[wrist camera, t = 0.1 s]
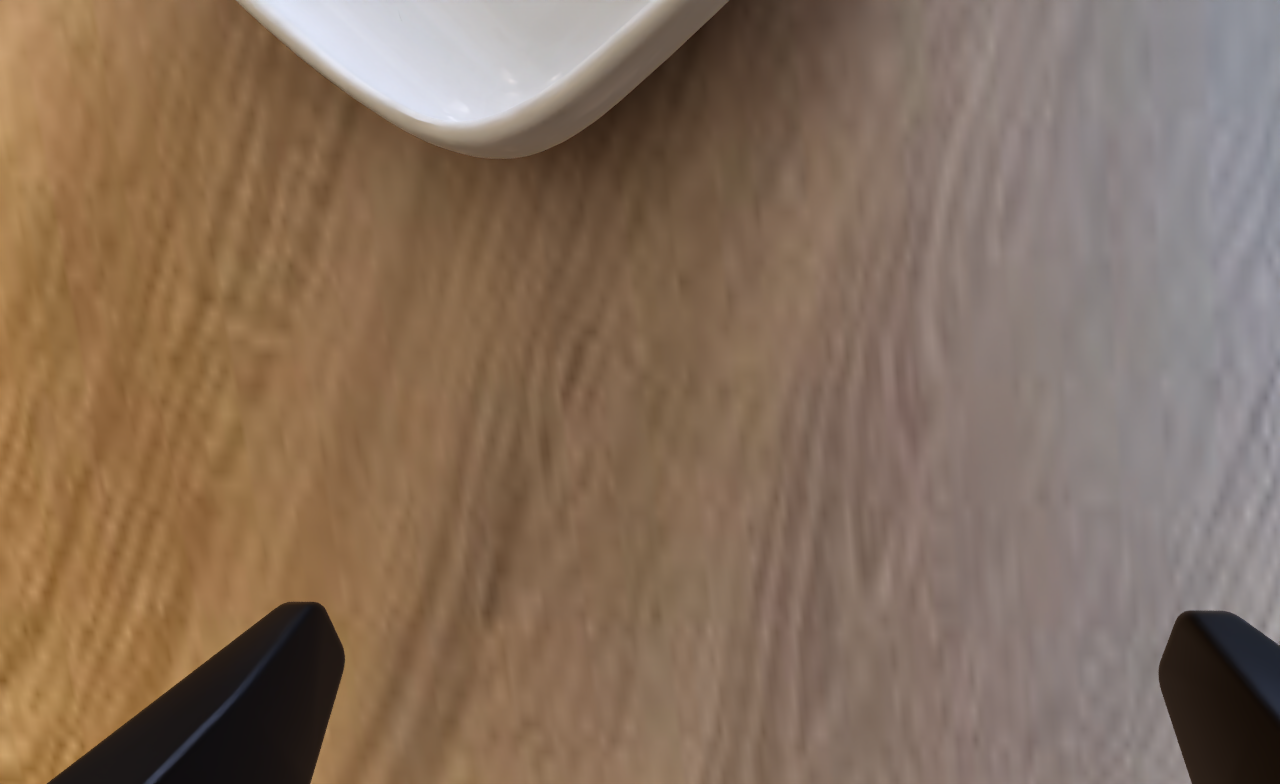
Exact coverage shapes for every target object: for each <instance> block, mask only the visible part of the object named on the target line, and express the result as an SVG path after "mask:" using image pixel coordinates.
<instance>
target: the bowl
mask: <svg viewBox="0 0 1280 784" xmlns="http://www.w3.org/2000/svg"><path fill="white" fill-rule="evenodd" d="M236 1H237V2H238V3H239V4H240V5H241V6H242V7H243V8H244V9H245V10H246V11H248V12H249V13H250V14H251V15H252V16H253V17H254V18H255V19H256V20H257V21H258V22H259V23H260V24H262V25H263V26H264V27H265V28H266V29H267V30H269V31H270V32H271V33H272V34H273V35H274V36H275V37H277V38H278V39H279V40H280V41H281V42H282V43H284V44H285V45H286V46H287V47H288V48H289V49H290V50H292V51H293V52H294V53H295V54H296V55H297V56H299V57H300V58H301V59H302V60H304V61H305V62H306V63H308V64H309V65H310V66H311V67H313V68H314V69H315V70H316V71H318V72H319V73H320V74H321V75H323V76H324V77H325V78H327V79H328V80H329V81H331V82H332V83H333V84H335V85H336V86H338V87H339V88H340V89H342V90H343V91H344V92H346V93H347V94H348V95H350V96H351V97H352V98H354V99H355V100H357V101H358V102H360V103H361V104H363V105H364V106H366V107H367V108H369V109H370V110H372V111H373V112H375V113H377V114H378V115H380V116H381V117H383V118H384V119H386V120H387V121H389V122H390V123H392V124H394V125H396V126H397V127H399V128H401V129H402V130H404V131H406V132H408V133H409V134H411V135H413V136H415V137H418V138H420V139H422V140H424V141H426V142H428V143H431V144H433V145H436V146H439V147H441V148H444V149H447V150H450V151H454V152H457V153H461V154H465V155H469V156H474V157H478V158H490V159H513V158H519V157H525V156H530V155H533V154H536V153H539V152H542V151H545V150H547V149H549V148H551V147H553V146H556V145H558V144H560V143H562V142H564V141H566V140H568V139H569V138H571V137H573V136H574V135H576V134H577V133H579V132H580V131H582V130H583V129H585V128H586V127H588V126H589V125H591V124H592V123H593V122H595V121H596V120H598V119H599V118H600V117H601V116H603V115H604V114H605V113H606V112H607V111H609V110H610V109H611V108H612V107H614V106H615V105H616V104H617V103H618V102H620V101H621V100H622V99H623V98H624V97H625V96H626V95H628V94H629V93H630V92H631V91H632V90H633V89H634V88H635V87H636V86H638V85H639V84H640V83H641V82H642V81H643V80H644V79H645V78H647V77H648V76H649V75H650V74H651V73H652V72H653V71H654V70H655V69H657V68H658V67H659V66H660V65H661V64H662V63H663V62H664V61H665V60H667V59H668V58H669V57H670V56H671V55H672V54H673V53H674V52H675V51H676V50H677V49H678V48H679V47H681V46H682V45H683V44H684V43H685V42H686V41H687V40H688V39H689V38H690V37H691V36H692V35H693V34H694V33H695V32H697V31H698V30H699V29H700V28H701V27H702V26H703V25H704V24H705V23H706V22H707V21H708V20H709V19H710V18H711V17H712V16H714V15H715V14H716V13H717V12H718V11H719V10H720V9H721V8H722V7H723V6H724V5H725V4H726V3H727V2H728V1H729V0H236Z"/></svg>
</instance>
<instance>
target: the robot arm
mask: <svg viewBox="0 0 1280 784" xmlns="http://www.w3.org/2000/svg"><path fill="white" fill-rule="evenodd" d="M344 663H345V654H344V649H343V646H342V644H341V641H340V639H339V637H338V635H337V633H336V631H335V628H334V626H333V624H332V622H331V620H330V618H329V616H328V613H327V611H326V609H325V608H324V607H323V606H322V605H321V604H319V603H317V602H287V603H284V604H282V605H280V606H278V607H277V608H275V609H274V610H273V611H271V612H270V613H269V614H268V615H266V616H265V617H264V618H262V619H261V620H260V621H258V622H257V623H256V624H254V625H253V626H252V627H251V628H249V629H248V630H247V631H245V632H244V633H243V634H241V635H240V636H239V637H238V638H236V639H235V640H234V641H232V642H231V643H230V644H228V645H227V646H226V647H224V648H223V649H222V650H221V651H219V652H218V653H217V654H215V655H214V656H213V657H211V658H210V659H209V660H208V661H206V662H205V663H204V664H202V665H201V666H200V667H198V668H197V669H196V670H194V671H193V672H192V673H191V674H189V675H188V676H187V677H185V678H184V679H183V680H181V681H180V682H179V683H178V684H176V685H175V686H174V687H172V688H171V689H170V690H168V691H167V692H166V693H164V694H163V695H162V696H161V697H159V698H158V699H157V700H155V701H154V702H153V703H151V704H150V705H149V706H147V707H146V708H145V709H144V710H142V711H141V712H140V713H138V714H137V715H136V716H134V717H133V718H132V719H131V720H129V721H128V722H127V723H125V724H124V725H123V726H121V727H120V728H119V729H117V730H116V731H115V732H114V733H112V734H111V735H110V736H108V737H107V738H106V739H104V740H103V741H102V742H101V743H99V744H98V745H97V746H95V747H94V748H93V749H91V750H90V751H89V752H87V753H86V754H85V755H84V756H82V757H81V758H80V759H78V760H77V761H76V762H74V763H73V764H72V765H71V766H69V767H68V768H67V769H65V770H64V771H63V772H61V773H60V774H59V775H57V776H56V777H55V778H54V779H52V780H51V781H50V782H48V783H47V784H310V783H311V780H312V776H313V773H314V769H315V766H316V763H317V759H318V756H319V752H320V749H321V745H322V742H323V739H324V735H325V732H326V728H327V725H328V722H329V718H330V715H331V711H332V708H333V704H334V701H335V698H336V694H337V691H338V687H339V684H340V681H341V677H342V674H343V670H344ZM1159 682H1160V687H1161V691H1162V694H1163V697H1164V700H1165V703H1166V706H1167V709H1168V712H1169V715H1170V718H1171V721H1172V724H1173V728H1174V731H1175V734H1176V737H1177V740H1178V743H1179V746H1180V749H1181V752H1182V755H1183V758H1184V761H1185V764H1186V767H1187V770H1188V773H1189V776H1190V779H1191V782H1192V784H1280V646H1279V645H1278V644H1277V643H1275V642H1274V641H1272V640H1271V639H1270V638H1268V637H1267V636H1265V635H1264V634H1263V633H1261V632H1260V631H1258V630H1257V629H1256V628H1254V627H1253V626H1252V625H1250V624H1249V623H1247V622H1246V621H1245V620H1243V619H1242V618H1240V617H1238V616H1237V615H1235V614H1233V613H1230V612H1226V611H1185V612H1183V613H1182V614H1181V615H1179V616H1178V618H1177V620H1176V622H1175V624H1174V627H1173V629H1172V632H1171V635H1170V637H1169V640H1168V643H1167V645H1166V648H1165V651H1164V653H1163V656H1162V658H1161V661H1160V665H1159Z"/></svg>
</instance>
